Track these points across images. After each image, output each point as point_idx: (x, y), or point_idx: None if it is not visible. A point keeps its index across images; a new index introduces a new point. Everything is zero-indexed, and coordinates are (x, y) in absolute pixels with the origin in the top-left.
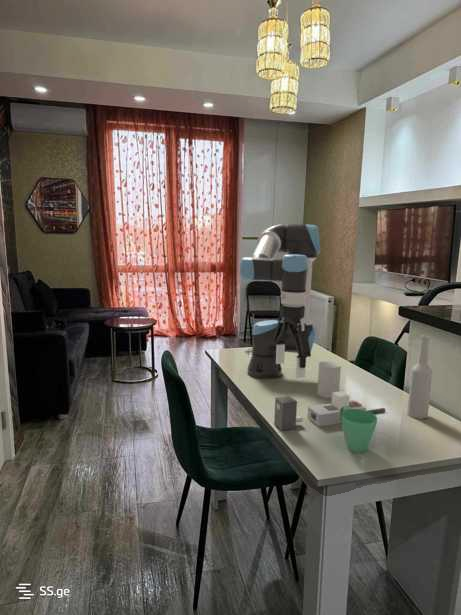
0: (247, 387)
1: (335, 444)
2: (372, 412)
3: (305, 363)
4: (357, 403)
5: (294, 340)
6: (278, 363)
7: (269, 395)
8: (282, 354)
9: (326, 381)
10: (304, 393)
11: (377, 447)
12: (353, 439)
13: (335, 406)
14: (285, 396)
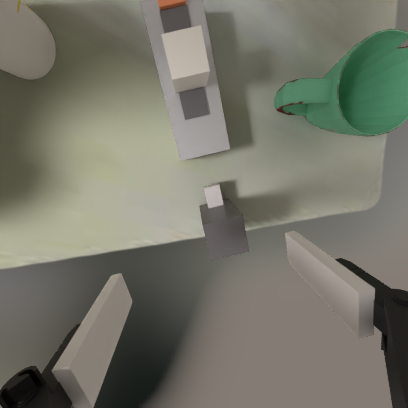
0: (5, 253)
1: (297, 143)
2: None
3: (364, 272)
4: (177, 2)
5: None
6: (129, 297)
7: (54, 212)
8: (106, 315)
9: (8, 36)
10: (27, 118)
11: (326, 60)
12: (358, 121)
13: (193, 87)
14: (207, 235)
